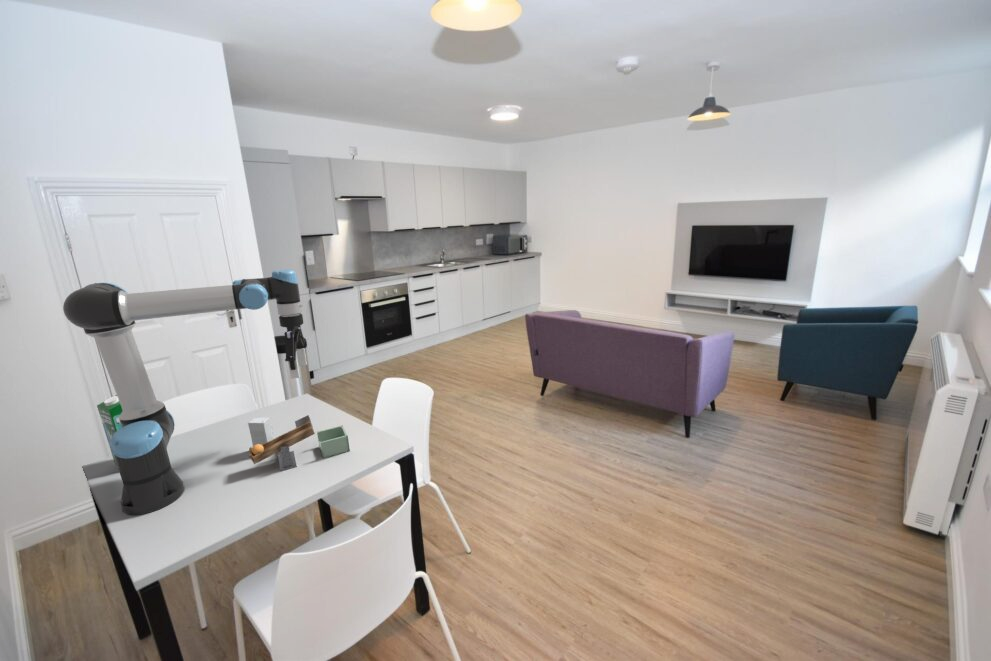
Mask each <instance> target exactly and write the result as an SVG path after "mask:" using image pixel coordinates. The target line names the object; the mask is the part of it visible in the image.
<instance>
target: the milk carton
mask: <svg viewBox="0 0 991 661" xmlns="http://www.w3.org/2000/svg"><path fill="white" fill-rule="evenodd" d="M96 407H97V411H98V414H99V417H100V420H101V423H102V426H103V427H102V428H103V429H104V432H105V437H106V439H107V443H108V447H109V449H110V452H111V456H112V459H113V462H114V464H115V466H117V463H116V460H115V456H114V454H113V452H112V449H111V438H112V436H113V434H114V433H115V432H116V431H118V430H119V429H122V428H123V427H122V425H121V422H120V420H119V416H120V414H121V413H122V411H123V410H122V407H121V404H120V402H119V399H118V397H117V394H116V395H114V396H111V397H108V398H107V399H105V400H104V401H103V402H100V403H99V404H97V405H96Z"/></svg>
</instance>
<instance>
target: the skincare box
mask: <svg viewBox="0 0 991 661" xmlns="http://www.w3.org/2000/svg"><path fill="white" fill-rule="evenodd" d="M247 425H248V429H249V434H250V438H251V444H252V447H253V446H254V445H256V444H260V445H263V444H265V443H267V442H269V441H271V440H273V439H275V435H274V431H273V425H272V420H271V418H270V417H254V418H253V419H251V420H250V421H248V423H247Z"/></svg>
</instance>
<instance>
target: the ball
mask: <svg viewBox="0 0 991 661" xmlns="http://www.w3.org/2000/svg"><path fill="white" fill-rule="evenodd" d="M251 448H252V450H251V451H252V454H254V455H257V454H259V453H261V452H263V451H264V447H263V446H262V445H260V444H256V445H254V446H253V445H252V446H251Z"/></svg>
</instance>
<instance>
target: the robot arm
mask: <svg viewBox="0 0 991 661" xmlns="http://www.w3.org/2000/svg"><path fill="white" fill-rule="evenodd" d="M299 289H300V288H299V282H298V278H297V273H296V271H295V270H293V269H280V270H277V269H276V270H274V271H272V272H271V276H269V277H261V278H259V277H258V278H242V279H237V280H234V281H232V284H228V285H219V286H218V285H217V286H205V287H193V288H181V289H179V288H178V289H170V290H169V289H168V290H167V289H166V290H157V291H146V292H145V291H144V292H135V293H134V292H133V293H132V292H131V293H129V292H127V290H126V289H124V288H123V287H121V286H119V285H117V284H115V283H112V282H111V283H110V282H94V283H91V284H88V285H86V286H84V287H82V288H79V289H76V290H75V291H73V292H71V293H70V294H69V295H67V297H66V298H65V300H64V302H63V306H62V307H63V308H62V309H63V313H64V316H65V317H66V319H67V320H68V321H69V322H70V323H71V324H73V325H74V326H76V327H78V328H80V329H82V330H83V331H84V334H85V335H87V336H90V337H91V338H93V339H94V340H95V342H96V345H97V348H98V350H99V353H100V356H101V358H102V361H103V363H104V365H105V369H106V370H107V374H108V376H109V378H110V381H111V383H112V386H113V389H114V391H115V394H116V395H117V397H118V399H119V402H120V404H121V407H122V410H123V411H122V413H121V414H120V416H119V420H120V422H121V425H122V427H123V428H122V429H119V430H118V431H116V432H115V433H114V434H113V436H112V438H111V449H112V452H113V454H114V456H115V460H116V463H117V465H116V466H117V469H118V473H119V475H120V479H121V481H122V492H121V500H120V506H121V508H122V509H121V510H122V511H123V513H124V514H126V515H130V516H137V515H138V516H139V515H143V514H149V513H151V512H155V511H158V510H160V509H162V508H165V507H167V506H169V505H171V504H172V503H174V502H175V501H176V500H178V499H179V498H181V496H182V495H183V494H184V493H185V485H184V482H183V480H182V478H181V477H180V476H179V475H178V474H177V473H176V471H175V470H174V468H173V467H172V464H171V461H170V456H169V453H168V445H169V442H170V440H171V438H172V435H173V434H174V431H175V418H174V416H173V415H172V414H171V412H169V411H168V410H167V407H166V404H165V403H164V402H162V401H159V400H157V397H156V395H155V391H154V388H153V387H152V383H151V380H150V379H149V375H148V372H147V370H146V367H145V365H144V362H143V359H142V356H141V354H140V353H141V352H140V351H139V347H138V345H137V342H136V339H135V336H134V333H133V328H134V327H135V325H136V321H143V320H150V319H151V320H152V319H160V318H170V317H171V318H172V317H181V316H187V315H197V314H206V313H215V312H217V313H218V312H223V311H234V310H243V309H244V310H245V309H246V310H247V309H248V310H251V311H252V310H255V311H256V310H259V309H262V308H264V307H265V305H266V304H267V302H268V301H270V300H276V308H277V314H278V315H279V316H278V320H279V326H280V327H281V328H286V331H285V332H284V339H285V344H284V345H285V358H284V361H285V362H287V363H288V369H289V376H290V379H299V378H300V370H299V367H302V366H303V367H304V366H308V362H307V356H306V355H307V354H306V350H305V349H306V348H307V347H308V346H307V344H306V341H305V338H304V334H303V331H302V325H303V324H304V317H303V314H302V307H303V303H301V297H300V290H299Z"/></svg>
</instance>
